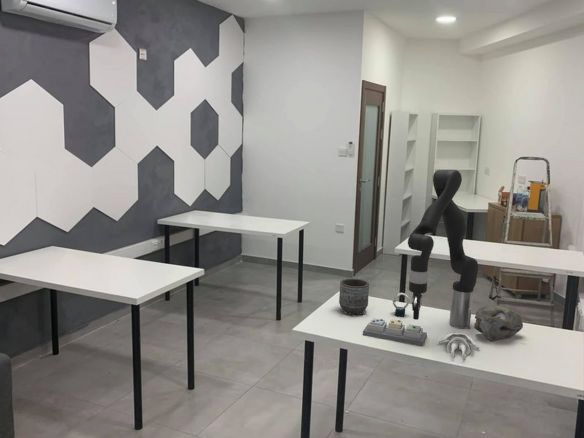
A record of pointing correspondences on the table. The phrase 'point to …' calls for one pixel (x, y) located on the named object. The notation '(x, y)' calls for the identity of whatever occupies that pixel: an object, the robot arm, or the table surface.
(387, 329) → the keypad
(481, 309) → the fossil
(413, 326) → the button one
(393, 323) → the button two
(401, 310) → the watch
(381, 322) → the button three
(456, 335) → the figurine
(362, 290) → the planter
